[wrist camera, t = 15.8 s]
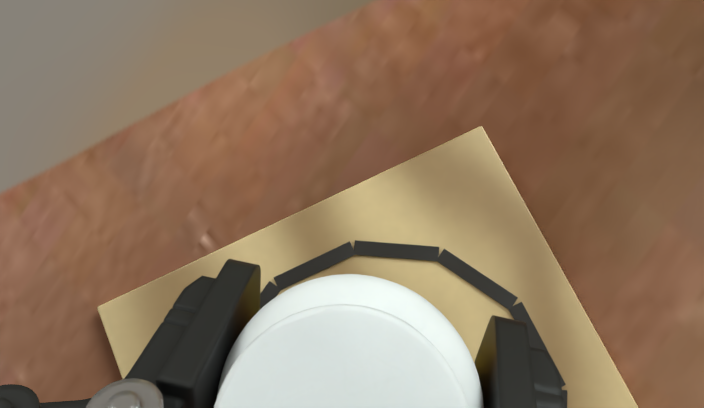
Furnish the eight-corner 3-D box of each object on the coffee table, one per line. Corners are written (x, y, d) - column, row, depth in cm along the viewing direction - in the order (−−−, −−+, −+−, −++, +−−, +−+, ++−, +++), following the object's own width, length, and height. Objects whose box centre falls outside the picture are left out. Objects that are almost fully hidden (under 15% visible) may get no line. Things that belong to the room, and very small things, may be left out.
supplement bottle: (402, 263, 18) (429, 203, 9) (472, 420, 17) (593, 551, 7) (252, 328, 18) (112, 340, 8) (314, 491, 17) (233, 719, 7)
